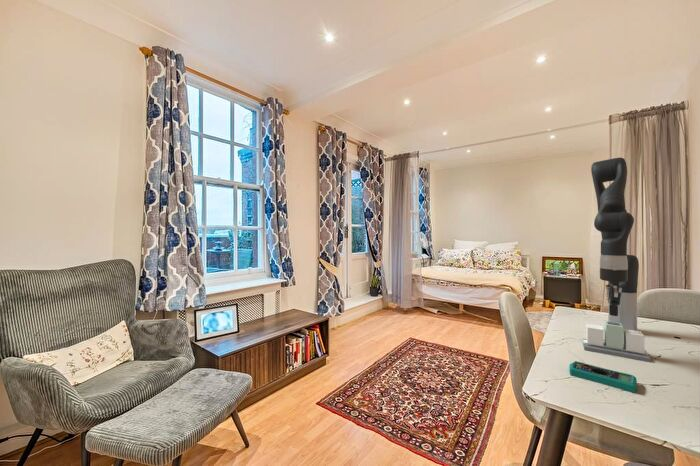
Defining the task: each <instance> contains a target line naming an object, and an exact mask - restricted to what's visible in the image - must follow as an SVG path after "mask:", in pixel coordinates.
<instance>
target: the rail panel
mask: <svg viewBox="0 0 700 466" xmlns="http://www.w3.org/2000/svg"><path fill="white" fill-rule="evenodd" d="M585 325H586V328H585V329H586V332H585V333H586V338H582V345H583V350H584V351H586V352H587V351H588V352H595V353H599V354H604V355H610V356H615V357H620V358H625V359H632V360H636V361H642V362H648V363H651V357H650V356H649V353H648V351H646V349H645V334H644V333H643V332H642V331H639V330H637V331H634V330H627V329H623V350H621V349H615V348H609V347H606V345H605V342H604V328H603V326H602V325H597V324H590V323H586V324H585Z"/></svg>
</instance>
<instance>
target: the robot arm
mask: <svg viewBox="0 0 700 466" xmlns="http://www.w3.org/2000/svg"><path fill="white" fill-rule="evenodd" d="M590 168H591V170H590V171H591V177H592V183H593V186H594V191H595V196H596V202H597V214H596V216H595V217H594V221H593V226H594V227H595V229H596V230H597V231H598V232H600V233H601V241H600V257H599V258H600V259H599V279H600V280H601V281H605V282H607V284H605V290H606V297H607V303H608V322H616V323H621V324H622V326H623V329H627V330H634V331H638V286H639V268H640V262H639V259H638V257H637V256H636V255H633V254H627V253H628V248H627V247H628V240H629V237H630V233H631V230H632V229H633V226H634V222H635V218H634V216H633V215H632V214H631V213H630V212H627V208H626V199H625V192H626V187H627V181H628V180H627V179H628V164H627V161H626V160H625V158H623V157H614V158H608V159H603V160H598V161H596V162H593V163H592V164H591V167H590ZM607 182H611V183H610V184H609V185H608V186H607V187H605V185H604V183H607Z"/></svg>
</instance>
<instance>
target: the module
mask: <svg viewBox="0 0 700 466" xmlns="http://www.w3.org/2000/svg"><path fill="white" fill-rule="evenodd" d="M603 323H604V325H603V326H604V328H603V330H604V342H605V345H606V347H609V348H615V349H621V350H623V326H622V324H621V323H616V322H608V321H606V320H604V322H603Z"/></svg>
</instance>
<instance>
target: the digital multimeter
mask: <svg viewBox="0 0 700 466" xmlns="http://www.w3.org/2000/svg"><path fill="white" fill-rule="evenodd" d="M568 368H569V370H568V371H569V372H568V373H569V375H570V376H573V377H576V378H580V379H584V380H587V381H591V382H595V383H598V384H602V385H606V386H609V387H613V388H616V389H620V390H622V391H626V392H630V393H636V392H637V388H638V383H637V381H638V380H637V377H636V376H634V375H633V374H631V373H630V374H629V373H625V372H621V371H617V370H613V369H608V368H604V367H600V366H596V365H591V364H588V363H584V362H581V361H576V360H575V361H573V362H571V363H570V364H569V367H568Z"/></svg>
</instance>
